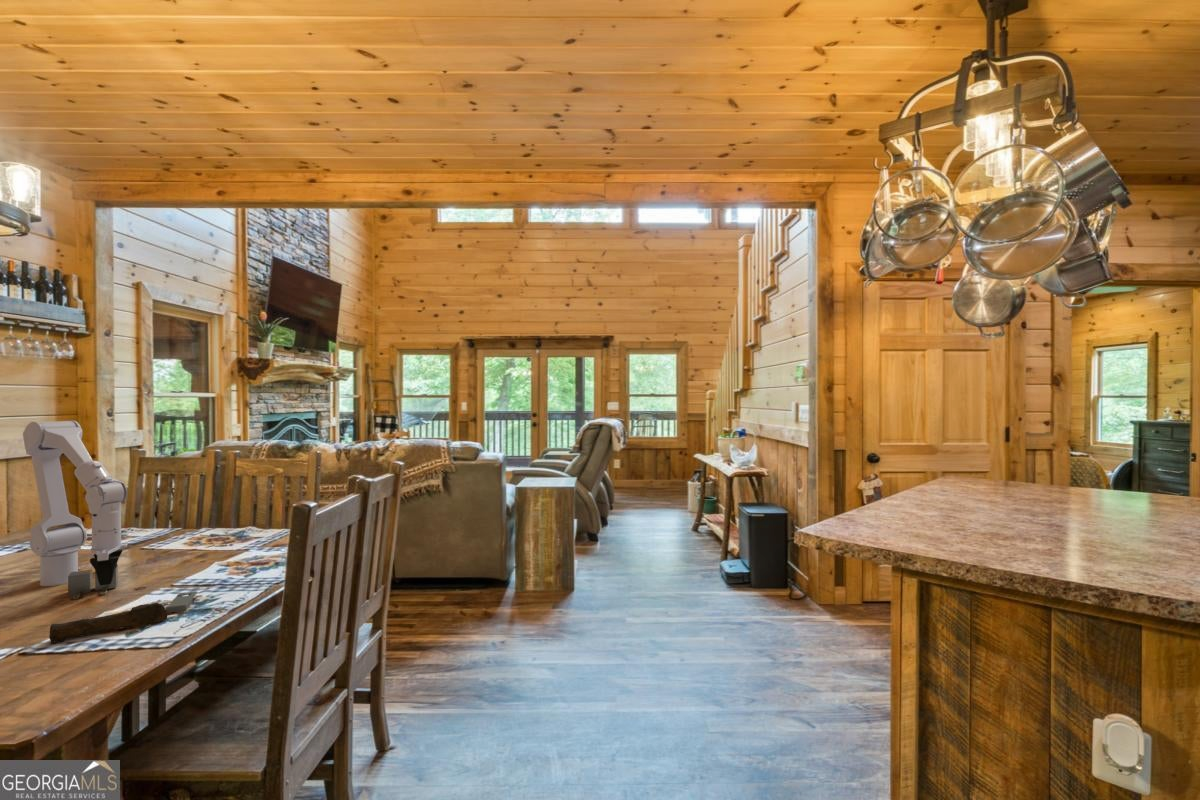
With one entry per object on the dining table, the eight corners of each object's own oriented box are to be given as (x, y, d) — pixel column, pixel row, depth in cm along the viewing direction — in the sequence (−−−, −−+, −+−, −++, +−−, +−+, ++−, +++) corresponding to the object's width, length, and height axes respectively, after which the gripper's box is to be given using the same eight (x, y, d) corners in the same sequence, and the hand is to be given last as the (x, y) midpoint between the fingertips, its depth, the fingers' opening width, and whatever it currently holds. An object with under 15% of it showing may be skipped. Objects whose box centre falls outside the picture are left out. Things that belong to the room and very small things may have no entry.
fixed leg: (71, 591, 141) (71, 572, 141) (92, 588, 143) (92, 569, 143) (64, 601, 134) (64, 581, 134) (86, 598, 136) (86, 578, 136)
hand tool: (47, 647, 112) (47, 624, 112) (52, 640, 116) (52, 618, 116) (165, 625, 123) (165, 605, 123) (167, 619, 126) (167, 599, 126)
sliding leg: (97, 586, 143) (97, 567, 143) (117, 583, 146) (117, 564, 146) (92, 596, 137) (92, 575, 137) (113, 592, 139) (113, 572, 139)
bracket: (165, 615, 129) (165, 607, 129) (178, 600, 139) (178, 592, 139) (186, 613, 131) (186, 605, 131) (197, 598, 140) (197, 590, 140)
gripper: (123, 532, 139) (123, 586, 139) (129, 522, 151) (129, 571, 151) (85, 536, 135) (86, 592, 135) (95, 525, 147) (95, 576, 147)
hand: (106, 581), depth 143 cm, fingers closed on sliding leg, 4 cm apart
